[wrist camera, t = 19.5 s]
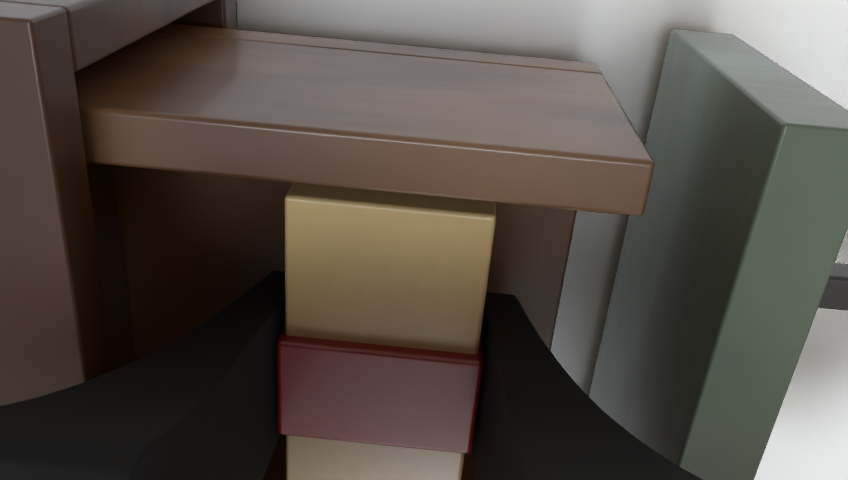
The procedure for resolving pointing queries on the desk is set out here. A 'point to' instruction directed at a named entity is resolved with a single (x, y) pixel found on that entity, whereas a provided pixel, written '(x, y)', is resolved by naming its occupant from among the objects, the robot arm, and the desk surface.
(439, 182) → the drawer
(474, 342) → the box with red band
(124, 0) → the cabinet
